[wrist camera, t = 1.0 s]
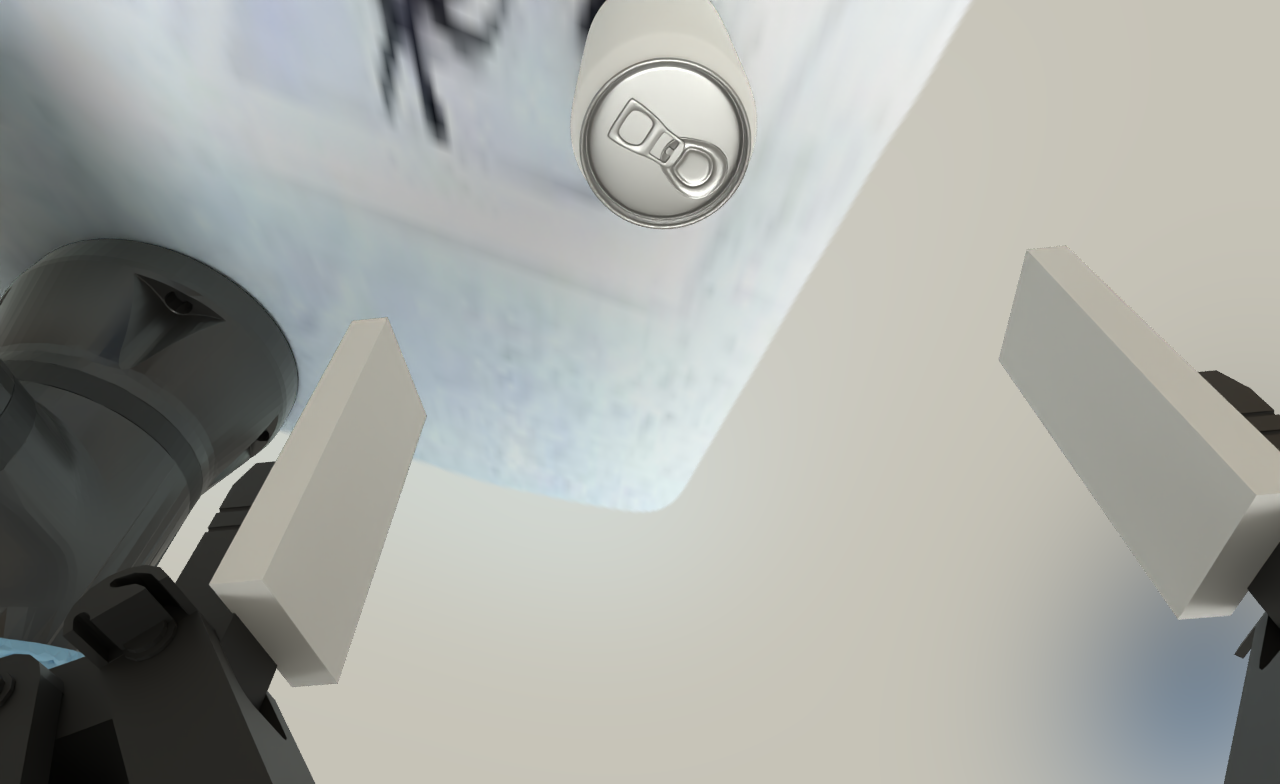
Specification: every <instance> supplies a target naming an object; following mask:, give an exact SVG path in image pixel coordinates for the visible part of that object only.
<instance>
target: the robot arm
mask: <svg viewBox="0 0 1280 784" xmlns="http://www.w3.org/2000/svg"><path fill="white" fill-rule="evenodd" d="M999 361H1000V363H1001V364H1002V366H1003V367H1004V369H1005V370H1006V371H1007V373H1008V374H1009V376H1010V377H1011V379H1012V380H1013V381H1014V383H1015V384H1016V386H1017V387H1018V389H1019V390H1020V392H1021V393H1022V394H1023V396H1024V397H1025V399H1026V400H1027V402H1028V403H1029V405H1030V406H1031V408H1032V409H1033V410H1034V412H1035V413H1036V415H1037V416H1038V418H1039V419H1040V420H1041V422H1042V423H1043V425H1044V426H1045V428H1046V429H1047V430H1048V432H1049V434H1050V435H1051V436H1052V438H1053V439H1054V441H1055V442H1056V444H1057V445H1058V447H1059V448H1060V449H1061V451H1062V452H1063V454H1064V455H1065V457H1066V458H1067V460H1068V461H1069V462H1070V464H1071V465H1072V467H1073V468H1074V470H1075V471H1076V473H1077V474H1078V475H1079V477H1080V478H1081V480H1082V481H1083V483H1084V484H1085V485H1086V487H1087V488H1088V490H1089V491H1090V493H1091V494H1092V496H1093V497H1094V499H1095V500H1096V501H1097V503H1098V504H1099V506H1100V507H1101V509H1102V510H1103V511H1104V513H1105V514H1106V516H1107V517H1108V519H1109V520H1110V522H1111V523H1112V525H1113V526H1114V527H1115V529H1116V530H1117V532H1118V533H1119V535H1120V536H1121V537H1122V539H1123V540H1124V542H1125V543H1126V545H1127V546H1128V548H1129V549H1130V551H1131V552H1132V553H1133V555H1134V556H1135V558H1136V559H1137V561H1138V562H1139V564H1140V565H1141V566H1142V568H1143V569H1144V571H1145V572H1146V574H1147V575H1148V577H1149V578H1150V579H1151V581H1152V582H1153V584H1154V585H1155V587H1156V588H1157V590H1158V591H1159V592H1160V594H1161V595H1162V597H1163V598H1164V600H1165V601H1166V603H1167V604H1168V605H1169V607H1170V608H1171V610H1172V611H1173V612H1174V614H1175V616H1176V617H1177V618H1178V619H1191V618H1204V617H1218V616H1230V615H1232V613H1233V612H1234V610H1235V609H1236V607H1237V606H1238V605H1239V603H1240V602H1241V600H1242V599H1243V597H1244V596H1245V595H1246V593H1247V592H1248V590H1249V592H1250V593H1251V594H1252V595H1253V597H1254V598H1255V599H1256V600H1257V601H1258V603H1259V604H1260V605H1261V606H1262V608H1263V609H1264V610H1265V611H1266V612H1265V613H1264V614H1263V616H1262V617H1261V618H1260V620H1259V621H1258V622H1257V624H1256V625H1255V626H1254V627H1253V629H1252V630H1251V631H1250V633H1249V634H1248V635H1247V637H1246V638H1245V639H1244V641H1243V642H1242V643H1241V645H1240V646H1239V648H1238V650H1237V651H1236V653H1235V655H1236V656H1239V657H1241V658H1244V657H1245V656H1246V654H1247V653H1248V652H1249V650H1250V649H1251V652H1250V657H1249V662H1248V667H1247V672H1246V677H1245V682H1244V687H1243V692H1242V697H1241V702H1240V706H1239V712H1238V717H1237V722H1236V726H1235V731H1234V736H1233V741H1232V746H1231V751H1230V756H1229V761H1228V766H1227V771H1226V776H1225V781H1224V784H1280V415H1275V414H1274V410H1273V409H1272V408H1271V407H1270V406H1269V405H1268V404H1267V403H1266V402H1265V401H1264V400H1262V399H1261V398H1260V397H1259V396H1258V395H1257V394H1256V393H1255V392H1254V391H1253V390H1251V389H1250V388H1249V387H1247V386H1244V385H1243V384H1241V383H1239V382H1237V381H1235V380H1234V379H1231V378H1230V377H1228V376H1226V375H1224V374H1222V373H1220V372H1218V371H1205V372H1197V371H1196V370H1195V369H1194V368H1193V367H1192V366H1191V365H1190V364H1189V363H1188V362H1187V361H1185V360H1184V359H1183V358H1182V357H1181V356H1180V355H1179V354H1178V353H1177V352H1176V351H1175V350H1174V349H1173V348H1172V347H1171V346H1170V345H1169V344H1168V343H1167V342H1166V341H1165V340H1164V339H1163V338H1162V337H1160V335H1158V334H1157V333H1156V332H1155V331H1154V330H1153V329H1152V328H1151V327H1150V326H1149V325H1148V324H1147V323H1146V322H1145V321H1144V320H1143V319H1142V318H1141V317H1140V316H1139V315H1138V314H1137V313H1136V312H1135V311H1134V310H1133V309H1131V307H1129V306H1128V305H1127V304H1126V303H1125V302H1124V301H1123V300H1122V299H1121V298H1120V297H1119V296H1118V295H1117V294H1116V293H1115V292H1114V291H1113V290H1112V289H1111V288H1110V287H1109V286H1108V285H1107V284H1106V283H1104V281H1102V280H1101V279H1100V278H1099V277H1098V276H1097V275H1096V274H1095V273H1094V272H1093V271H1092V270H1091V269H1090V268H1089V267H1088V266H1087V265H1086V264H1085V263H1084V262H1083V261H1082V260H1081V259H1080V258H1079V257H1078V256H1076V254H1074V253H1073V252H1072V251H1071V250H1070V249H1069V248H1068V247H1067V246H1056V247H1047V248H1037V249H1028V250H1027V251H1026V254H1025V259H1024V262H1023V266H1022V271H1021V274H1020V278H1019V282H1018V286H1017V290H1016V294H1015V298H1014V302H1013V306H1012V309H1011V313H1010V317H1009V321H1008V325H1007V329H1006V333H1005V337H1004V341H1003V345H1002V349H1001V353H1000V357H999ZM297 388H298V377H297V369H296V364H295V361H294V357H293V355H292V352H291V350H290V347H289V345H288V343H287V341H286V339H285V338H284V336H283V334H282V333H281V331H280V330H279V328H278V327H277V325H276V324H275V323H274V321H273V320H272V319H271V317H270V316H269V315H268V314H267V313H266V311H265V310H264V309H263V308H262V307H261V306H260V305H259V304H258V303H257V302H256V301H255V300H254V299H253V298H251V297H250V296H249V295H248V294H247V293H246V292H245V291H243V290H242V289H241V288H240V287H238V286H237V285H236V284H234V283H233V282H232V281H230V280H229V279H227V278H226V277H224V276H223V275H221V274H219V273H218V272H216V271H215V270H213V269H211V268H209V267H207V266H206V265H204V264H202V263H200V262H198V261H196V260H193V259H191V258H189V257H187V256H184V255H182V254H179V253H177V252H174V251H171V250H168V249H165V248H162V247H158V246H155V245H151V244H147V243H142V242H136V241H129V240H120V239H94V240H86V241H80V242H76V243H72V244H69V245H66V246H63V247H61V248H58V249H56V250H54V251H53V252H51V253H49V254H48V255H46V256H45V257H44V258H42V259H41V260H40V261H38V262H37V263H36V264H34V265H33V266H32V267H30V268H29V269H27V270H26V271H25V272H23V273H22V274H21V275H20V276H19V277H18V278H16V279H15V280H14V282H13V283H12V284H11V285H10V286H9V288H8V289H7V290H6V292H5V293H4V295H3V297H2V299H1V301H0V784H315V782H314V780H313V778H312V776H311V774H310V772H309V770H308V768H307V765H306V763H305V761H304V759H303V757H302V755H301V753H300V751H299V749H298V747H297V745H296V743H295V741H294V738H293V736H292V734H291V732H290V730H289V728H288V726H287V724H286V722H285V720H284V718H283V716H282V713H281V712H280V709H279V707H278V705H277V703H276V701H275V700H274V698H273V697H272V696H271V695H270V694H269V692H268V691H267V690H268V688H269V685H270V683H271V680H272V678H273V676H274V673H275V671H276V668H277V669H278V670H279V671H280V673H281V674H282V675H283V677H284V678H285V679H286V680H287V681H288V683H289V684H290V685H291V686H292V687H298V686H311V685H324V684H338V681H339V678H340V675H341V671H342V669H343V666H344V663H345V660H346V657H347V653H348V651H349V648H350V645H351V642H352V639H353V636H354V633H355V630H356V627H357V624H358V621H359V618H360V615H361V612H362V609H363V605H364V603H365V599H366V597H367V594H368V590H369V588H370V585H371V581H372V579H373V576H374V572H375V570H376V566H377V563H378V561H379V557H380V555H381V551H382V549H383V545H384V542H385V540H386V536H387V533H388V530H389V527H390V524H391V521H392V518H393V515H394V512H395V509H396V506H397V503H398V500H399V497H400V494H401V491H402V488H403V485H404V482H405V479H406V476H407V473H408V470H409V467H410V464H411V461H412V458H413V455H414V452H415V449H416V446H417V443H418V440H419V437H420V434H421V431H422V428H423V425H424V422H425V419H426V413H425V410H424V408H423V405H422V403H421V400H420V398H419V395H418V393H417V390H416V388H415V385H414V383H413V380H412V378H411V375H410V373H409V370H408V368H407V365H406V363H405V360H404V358H403V355H402V352H401V350H400V347H399V345H398V342H397V340H396V337H395V335H394V332H393V330H392V327H391V325H390V322H389V320H388V317H384V318H375V319H365V320H356V321H352V322H351V324H350V326H349V328H348V329H347V331H346V333H345V335H344V337H343V339H342V340H341V342H340V344H339V346H338V348H337V350H336V352H335V353H334V355H333V357H332V359H331V361H330V363H329V364H328V366H327V368H326V370H325V372H324V374H323V375H322V377H321V379H320V381H319V383H318V385H317V386H316V388H315V390H314V392H313V394H312V396H311V398H310V399H309V401H308V403H307V405H306V407H305V409H304V410H303V412H302V414H301V416H300V418H299V420H298V421H297V423H296V425H295V427H294V429H293V431H292V432H291V434H290V436H289V438H288V440H287V442H286V444H285V445H284V447H283V449H282V451H281V453H280V455H279V457H278V458H277V460H276V461H275V462H265V463H256V464H255V465H254V466H253V467H252V468H251V469H250V470H249V471H247V472H246V473H245V474H244V475H243V476H242V477H241V478H240V479H239V480H238V481H237V482H236V483H235V484H234V485H233V486H232V488H231V490H230V491H229V493H228V494H227V496H226V498H225V500H224V501H223V503H222V505H221V507H220V508H219V509H220V512H219V513H216V515H215V517H214V518H213V520H212V522H211V524H210V525H209V527H208V529H209V531H208V532H205V534H204V535H203V537H202V539H201V540H200V542H199V544H198V545H197V547H196V549H195V551H194V552H193V554H192V556H191V558H190V559H189V561H188V562H187V564H186V566H185V568H184V569H183V571H182V573H181V574H180V576H179V578H178V580H177V581H176V583H174V582H173V581H172V580H171V578H170V577H169V576H168V575H167V574H166V573H165V572H164V571H163V570H162V569H161V568H160V567H157V565H158V563H159V562H160V560H161V559H162V557H163V555H164V554H165V552H166V550H167V549H168V547H169V545H170V544H171V542H172V541H173V539H174V537H175V536H176V534H177V532H178V531H179V529H180V527H181V526H182V524H183V522H184V521H185V519H186V518H187V516H188V514H189V513H190V511H191V510H192V508H193V507H194V505H195V504H196V502H197V501H198V499H199V498H200V496H201V495H202V494H203V493H205V492H206V491H207V490H209V489H210V488H211V487H213V486H214V485H215V484H217V483H218V482H220V481H221V480H222V479H224V478H225V477H226V476H228V475H229V474H230V473H232V472H233V471H234V470H236V469H237V468H238V467H240V466H241V465H242V464H244V463H245V462H246V461H248V460H249V459H250V458H251V457H253V456H254V455H256V454H257V453H258V452H260V451H261V450H262V449H263V448H265V447H266V446H267V445H268V444H269V443H270V442H271V440H272V439H273V438H274V437H275V436H276V434H277V433H278V431H279V430H280V428H281V426H282V425H283V423H284V421H285V419H286V418H287V416H288V414H289V413H290V411H291V409H292V407H293V405H294V402H295V399H296V395H297Z"/></svg>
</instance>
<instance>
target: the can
mask: <svg viewBox="0 0 1280 784" xmlns="http://www.w3.org/2000/svg"><path fill="white" fill-rule="evenodd" d="M570 127H571V140H572V146H573V151H574V155H575V158H576V161H577V163H578V166H579V168H580V170H581V172H582V174H583V176H584V177H585V179H586V180H587V182H588V184H589V186H590V188H591V189H592V191H593V192H594V194H595V195H596V196H597V198H598V199H599V200H600V201H601V202H602V203H603V205H605V206H606V207H607V208H608V209H609V210H610V211H611V212H613V213H614V214H616V215H617V216H619V217H620V218H622V219H624V220H626V221H628V222H630V223H633V224H636V225H639V226H642V227H647V228H653V229H673V228H680V227H684V226H688V225H691V224H694V223H696V222H699V221H701V220H703V219H705V218H707V217H708V216H710V215H712V214H713V213H714V212H716V211H717V210H718V209H720V208H721V207H722V206H723V205H724V204H725V203H726V202H727V201H728V200H729V199H730V198H731V197H732V195H733V194H734V193H735V191H736V190H737V188H738V187H739V185H740V183H741V181H742V179H743V177H744V175H745V172H746V170H747V167H748V163H749V161H750V159H751V156H752V153H753V149H754V145H755V140H756V133H757V116H756V107H755V101H754V97H753V94H752V91H751V88H750V85H749V82H748V79H747V77H746V74H745V72H744V70H743V67H742V65H741V62H740V60H739V58H738V55H737V53H736V51H735V48H734V46H733V44H732V42H731V39H730V37H729V35H728V33H727V30H726V28H725V26H724V24H723V22H722V20H721V18H720V16H719V14H718V12H717V11H716V9H715V8H714V6H713V5H712V3H711V2H710V1H709V0H606V1H605V2H604V4H603V5H602V6H601V8H600V9H599V10H598V12H597V14H596V16H595V17H594V19H593V22H592V24H591V27H590V29H589V32H588V36H587V40H586V44H585V48H584V52H583V57H582V61H581V66H580V70H579V75H578V80H577V84H576V89H575V94H574V99H573V105H572V112H571V126H570Z"/></svg>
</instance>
